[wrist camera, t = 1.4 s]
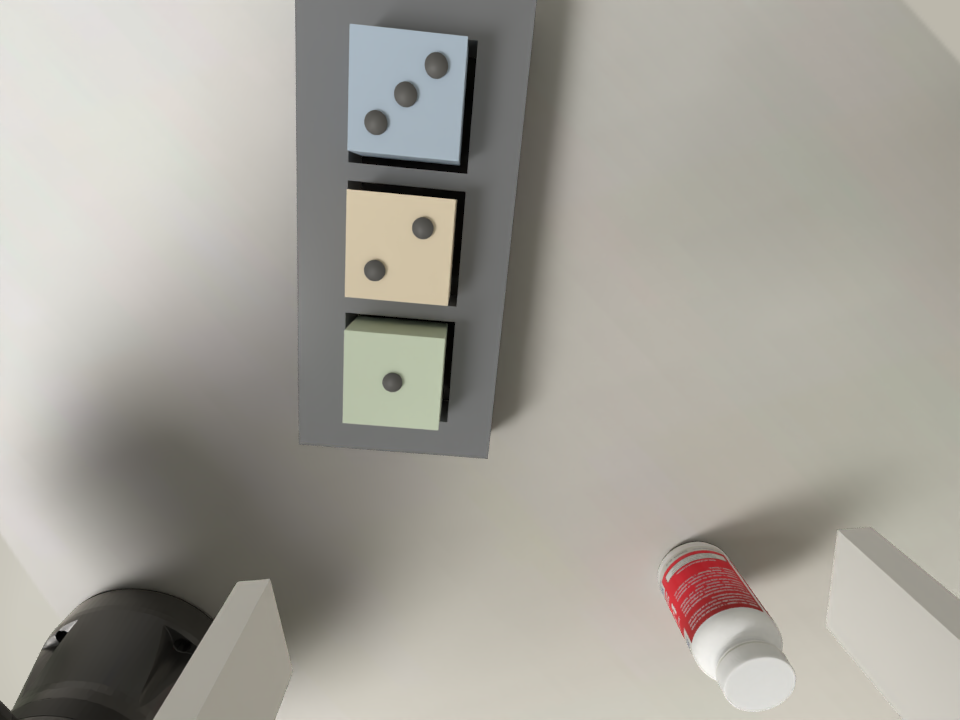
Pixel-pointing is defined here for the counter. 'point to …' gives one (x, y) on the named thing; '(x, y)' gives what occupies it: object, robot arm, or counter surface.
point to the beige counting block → (399, 247)
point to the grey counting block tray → (333, 169)
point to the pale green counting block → (394, 372)
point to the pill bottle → (726, 627)
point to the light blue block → (406, 94)
